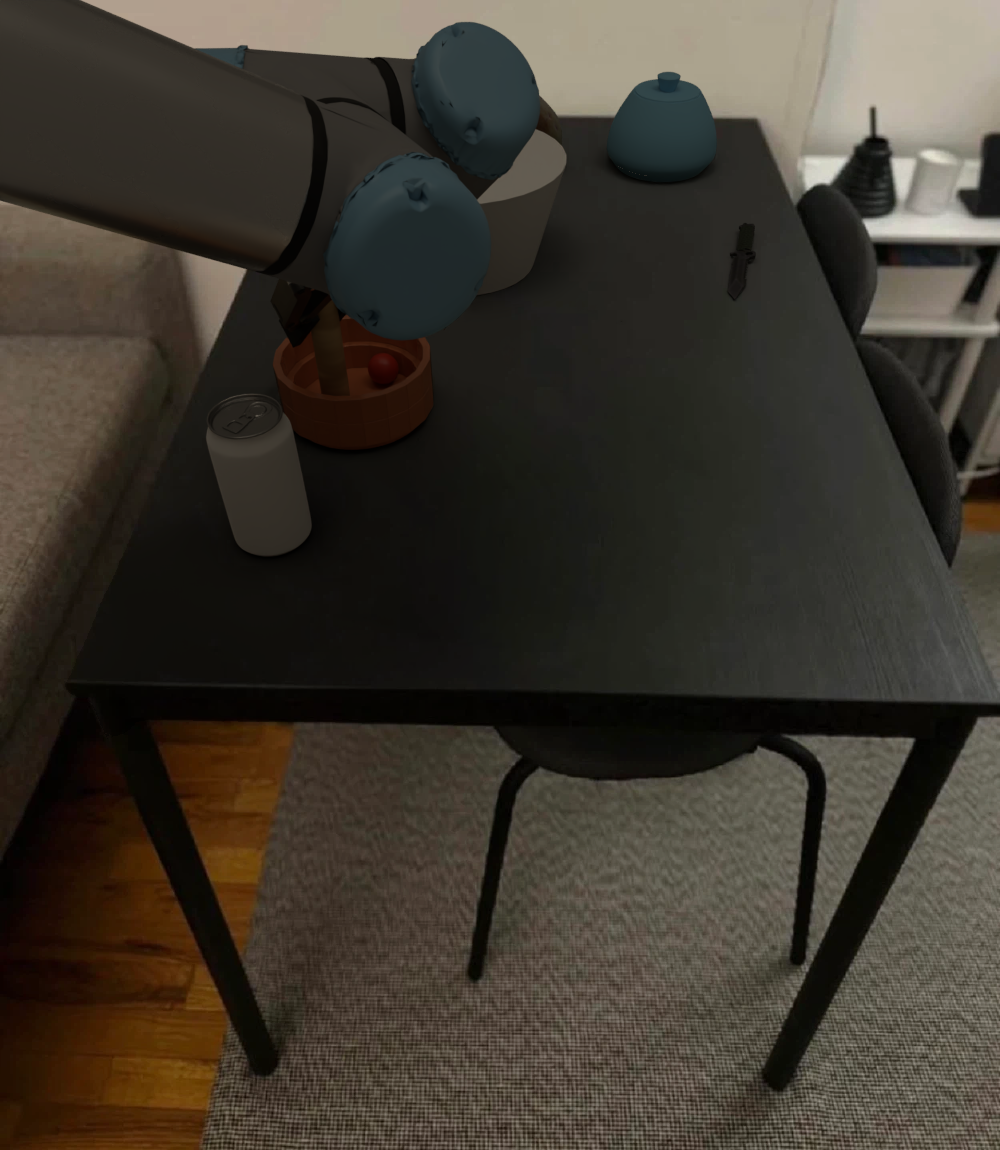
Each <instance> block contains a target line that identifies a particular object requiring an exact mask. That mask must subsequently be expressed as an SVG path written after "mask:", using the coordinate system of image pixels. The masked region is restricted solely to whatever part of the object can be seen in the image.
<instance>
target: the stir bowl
mask: <svg viewBox="0 0 1000 1150" xmlns="http://www.w3.org/2000/svg"><path fill="white" fill-rule="evenodd" d="M340 327H341V334H342V341H343V348H344V355H345V362H346V369H347V376H348V383H349V390H350V396H331V395H325V394H321V388H320V382H319V376H318V370H317V364H316V358H315V353H314V347H313V341H312V335H311V332H310V333H309V334H308V336H307V337H306V338H305V339H304V341H303V342H302V343H301V345H299V346H296V347H294V348H293V347H292V345H291V343H290V341H289V339H288V337H287V336H286V337H285V338H284V339H283V341H282V342H281V343H280V345H279V346H278V347H277V348H276V349H275V352H274V356H273V360H272V368H273V373H274V378H275V383H276V387H277V392H278V397H279V403H280V404H281V406H282V409H283V413H284V414H285V415H286V416H287V417H288V419H289V421H290V423H291V426H292V430H293V432H295V433H296V434H297V435H298V436H300V437H302V438H304V439H306V440H308V441H310V442H312V443H314V444H316V445H320V446H322V447H326V448H329V449H335V450H345V451H358V450H368V449H373V448H379V447H381V446H386V445H390V444H391V443H394V442H397V441H398V440H399V441H400V440H401V439H402V438H404V437H406V436H408V435H409V434H411V433H412V432H413V431H414V430H415V429H416V428H418V427H419V426H420V425H421V424H423V422H425V420H427V418H428V416H429V415H430V412H431V411H432V409H433V407H434V379H433V366H432V351H431V345H430V343H429V342H428V339H427V338H426V337H423V338H418V339H413V340H392V339H388V338H383V337H381V336H378V335H376V334H373V333H371V332H370V331H368V330H366V329H365V328H364V327H363V326H362V325H360V324H359V323H358V322H357V321H355V320H354V319H352V318H350V317H349V316H348V315H345V316H344V317H343V319H342V320H341V321H340ZM379 353H387V354H389V355H391V356H393V357H394V358H395V360H396V361H397V363H398V368H399V370H398V375H397V377H396V378H395V380H394V381H392V382H391V383H389V384H378V383H376V382H375V381H373V380H372V379H371V377H370V376H369V373H368V363H369V361H370V359H371V358H372V357H373V356H374V355H376V354H379Z"/></svg>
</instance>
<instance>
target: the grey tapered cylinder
mask: <svg viewBox="0 0 1000 1150" xmlns="http://www.w3.org/2000/svg"><path fill="white" fill-rule="evenodd" d="M566 166H567V153H566V151H565V149H564V147H563V146H562V145H560V144H559V143H558V142H557V141H556V140H555V139H554V138H552V137H551V136H549V135H547V134H546V133H544V132H541V131H539V130H536V129H535V131H534V133H533V135H532V137H531V138H530V140H529V141H528V142H527V144H526V145H525V146H524V148H523V149H522V151H521V152H520V153H519V155H518V156H517V158H516V159H515V161H514V162H513V166H512V167H511V169H510V170H509V171H508V172H507V173H506V174H504V175H502V176H501V177H500V178H498V179H497V180H496V181H495V182H494V183H493V184H492V185H491V186H490V187H489V188H488V189H487V190H486V191H485V192H484V193H483V194H482V195H481V196H480V197H479V198H478V199H477V201H478V202H479V204H480V206H481V207H482V209H483V211H484V213H485V216H486V218H487V221H488V225H489V230H490V235H491V256H490V262H489V267H488V270H487V274H486V276H485V277H484V279H483V284H482V286H481V288H480V289H479V291H478V293H477V295H476V296H480V295H487V294H491V293H495V292H498V291H502V290H505V289H507V288H509V287H512V286H514V285H516V284H518V283H519V282H521V281H522V280H523V279H525V278H526V277H527V276H528V275H529V274H530V272H531V271H532V269H533V267H534V264H535V261H536V258H537V255H538V252H539V250H540V249H539V248H540V245H541V244H542V239H543V236H544V234H545V231H546V228H547V225H548V221H549V218H550V215H551V211H552V209H553V205H554V203H555V199H556V197H557V194H558V192H559V191H558V190H559V188H560V184H561V181H562V178H563V175H564V172H565V169H566Z"/></svg>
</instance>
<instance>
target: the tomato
mask: <svg viewBox="0 0 1000 1150" xmlns="http://www.w3.org/2000/svg"><path fill="white" fill-rule="evenodd" d="M398 370H399V368H398V363H397V361H396V360H395V358H394V357H393V356H391V355H389V354H387V353H379V354H376V355H374V356H373V357H372V358H371V359H370V361H369V363H368V373H369V376H370V377H371V379H372V380H373V381H375V382H376V383H378V384H389V383H391V382H392V381H394V380H395V378H396V377H397V375H398Z"/></svg>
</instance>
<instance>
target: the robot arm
mask: <svg viewBox="0 0 1000 1150" xmlns="http://www.w3.org/2000/svg"><path fill="white" fill-rule="evenodd" d="M539 95H540V90H539V87H538V83H537V79H536V75H535V73H534V71H533V69H532V67H531V65H530V63H529V61H528V59H527V58H526V57H525V55H524V53H522V51H521V50H520V49H519V48H518V46H516V44H515V43H514V42H513V41H512V40H511V39H509V38H508V37H507V36H506V35H504V34H503V33H501V32H500V31H498V30H497V29H495V28H492V27H491V26H488V25H486V24H484V23H480V22H475V21H458V22H455V23H453V24H450V25H447V26H445V27H442V28H441V29H439V30H438V31H437V32H435V33H434V34H433V35H432V37H430V39H429V41H427V42H426V43H425V44H424V45H420V47H419V48H418V50H417V53H416V56H415V58H402V57H401V58H400V57H389V56H375V57H368V56H367V57H362V56H361V57H359V56H349V55H348V56H347V55H334V54H323V53H322V54H321V53H310V52H296V51H282V50H271V49H255V48H249V45H247V44H240V45H238V46H237V47H200V48H199V47H197V48H196V47H195V48H194V47H193V46H190V45H187V44H185V43H183V42H180V41H178V40H176V39H173V38H171V37H168V36H166V35H164V34H162V33H159V32H157V31H154V30H152V29H150V28H147V27H145V26H143V25H140V24H138V23H135V22H133V21H131V20H129V19H127V18H124V17H122V16H119V15H117V14H115V13H112V12H110V11H108V10H105V9H102V8H100V7H98V6H95V5H94V4H91V3H88V2H86V1H84V0H0V202H4V203H7V204H10V205H14V206H18V207H21V208H25V209H28V210H31V211H35V212H40V213H41V214H46V215H50V216H54V217H57V218H61V219H63V220H68V221H72V222H75V223H79V224H82V225H86V226H89V227H93V228H96V229H100V230H103V231H107V232H110V233H114V234H118V235H121V236H126V237H129V238H132V239H136V240H139V241H144V242H147V243H151V244H154V245H156V246H157V245H158V246H161V247H165V248H169V249H172V250H175V251H179V252H182V253H186V254H189V255H194V256H198V257H201V258H203V259H208V260H212V261H215V262H219V263H222V264H225V265H229V266H233V267H237V268H239V269H244V270H247V271H251V272H254V273H259V274H261V275H266V276H268V277H271V278H275V279H278V280H277V283H276V286H275V288H274V291H273V292H272V296H271V298H270V304H271V306H272V308H273V310H274V311H275V313H276V315H277V317H278V322H279V325H281V328H282V329H283V332H284V334H285V335H286V338H287V337H288V339H289V341H290V343H291V345H292V347H293V348H294V347H296V346H299V345H301V343H302V342H303V341H304V339H305V338H306V337H307V336H308V334H309V333H310V332H311V330H312V329H313V328H314V327H315V325H316V324H317V323H318V322H319V320H320V319H319V317H318V313H319V312H320V311H321V310H322V309H323V308H324V307H325V306H326V305H327V304H328V303H329V302H330V301H331V300H332V301H333V302H334V304H335V305H336V307H337V308H338V313H339V320H340V321H341V320H342V319H343V317H344V316H345V315H348V316H349V317H350V318H352V319H354V320H355V321H357V322H358V323H359V324H360V325H362V326H363V327H364V328H365V329H366V330H368V331H370V332H371V333H373V334H376V335H378V336H381V337H383V338H388V339H392V340H413V339H418V338H423V337H425V338H426V337H429V336H432V335H434V334H436V333H438V332H440V331H442V330H444V329H445V328H447V327H449V326H451V324H453V323H454V322H455V321H457V320H458V319H459V318H460V317H461V316H462V315H463V314H464V313H465V312H466V311H467V310H468V308H469V307H470V306H471V305H472V303H473V302H474V300H475V299H476V297H477V296H478V295H477V293H478V291H479V289H480V288H481V286H482V284H483V279H484V277H485V276H486V274H487V270H488V267H489V262H490V256H491V235H490V230H489V225H488V221H487V218H486V216H485V213H484V211H483V209H482V207H481V206H480V204H479V202H478V201H477V199H478V198H479V197H480V196H481V195H482V194H483V193H484V192H485V191H486V190H487V189H488V188H489V187H490V186H491V185H492V184H493V183H494V182H495V181H496V180H497V179H498V178H500V177H501V176H502V175H504V174H506V173H507V172H508V171H509V170H510V169H511V167H512V166H513V162H514V161H515V159H516V158H517V156H518V155H519V153H520V152H521V151H522V149H523V148H524V146H525V145H526V144H527V142H528V141H529V140H530V138H531V137H532V135H533V133H534V131H535V129H536V127H537V124H538V120H539V115H540V97H539Z"/></svg>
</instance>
